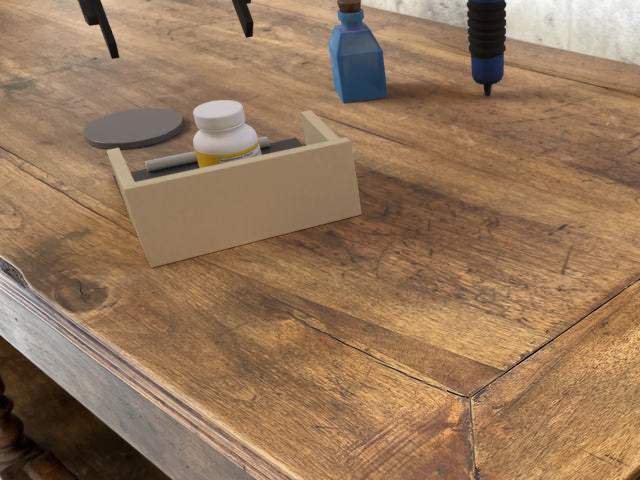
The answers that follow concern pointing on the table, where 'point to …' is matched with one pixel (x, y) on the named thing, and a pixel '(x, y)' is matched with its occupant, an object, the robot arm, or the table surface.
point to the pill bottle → (223, 134)
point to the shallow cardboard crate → (239, 194)
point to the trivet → (133, 128)
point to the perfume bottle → (356, 56)
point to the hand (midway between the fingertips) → (184, 40)
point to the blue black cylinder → (487, 41)
